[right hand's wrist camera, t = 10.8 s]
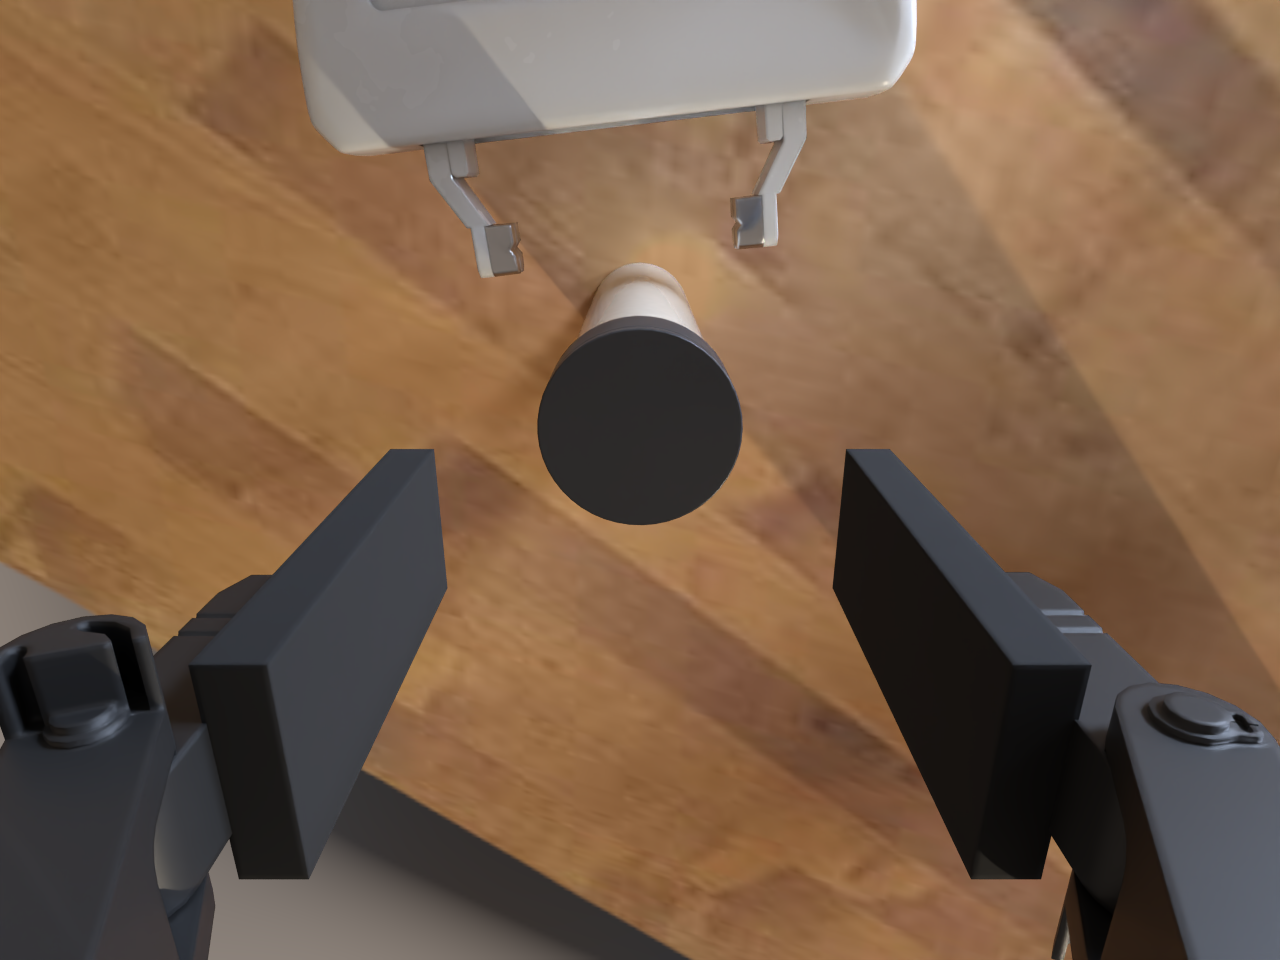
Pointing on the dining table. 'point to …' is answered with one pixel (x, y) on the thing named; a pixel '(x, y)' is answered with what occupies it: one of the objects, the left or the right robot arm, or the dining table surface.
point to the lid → (640, 421)
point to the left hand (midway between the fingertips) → (628, 261)
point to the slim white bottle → (640, 297)
